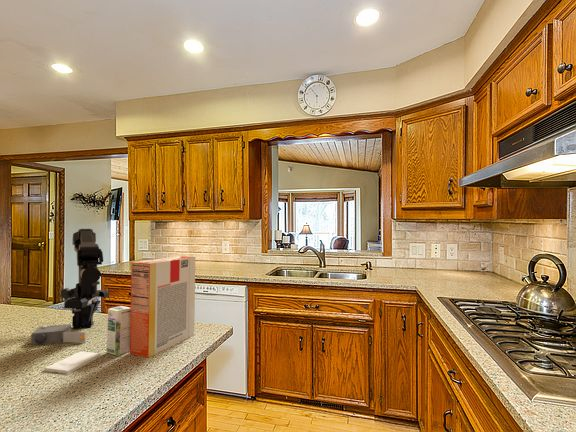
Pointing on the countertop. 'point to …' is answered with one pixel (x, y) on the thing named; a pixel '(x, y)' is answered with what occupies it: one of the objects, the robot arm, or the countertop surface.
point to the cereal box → (161, 303)
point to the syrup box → (118, 330)
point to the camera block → (49, 334)
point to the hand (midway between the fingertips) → (87, 321)
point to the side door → (73, 336)
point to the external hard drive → (72, 362)
